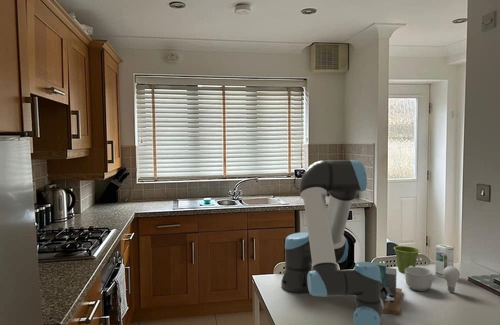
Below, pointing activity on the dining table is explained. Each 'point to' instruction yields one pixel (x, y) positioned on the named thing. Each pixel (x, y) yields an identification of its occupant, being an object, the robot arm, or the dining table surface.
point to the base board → (394, 304)
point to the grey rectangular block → (391, 280)
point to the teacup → (418, 278)
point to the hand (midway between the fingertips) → (379, 282)
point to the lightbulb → (451, 277)
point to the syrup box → (443, 258)
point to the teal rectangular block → (382, 273)
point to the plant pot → (406, 257)
